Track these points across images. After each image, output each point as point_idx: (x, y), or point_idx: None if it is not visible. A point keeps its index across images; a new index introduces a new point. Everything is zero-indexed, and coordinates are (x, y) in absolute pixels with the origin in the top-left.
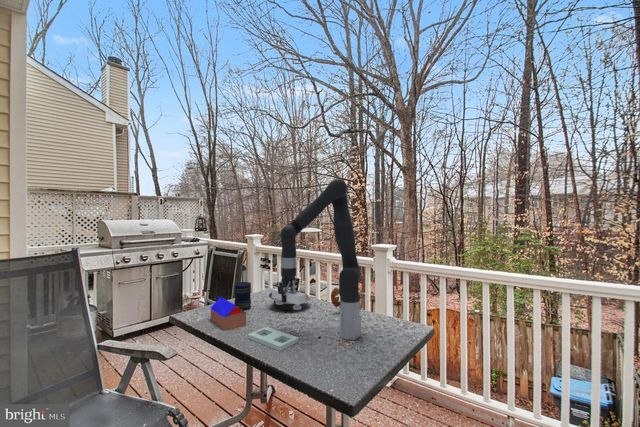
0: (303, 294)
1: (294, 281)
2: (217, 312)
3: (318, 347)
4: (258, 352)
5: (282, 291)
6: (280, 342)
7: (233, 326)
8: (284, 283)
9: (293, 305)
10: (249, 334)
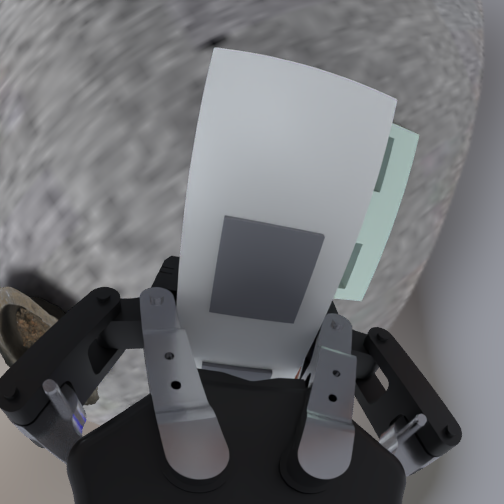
0: (265, 63)
1: (122, 429)
2: None
3: (315, 10)
4: (434, 197)
5: (394, 354)
6: (392, 149)
7: (299, 370)
8: (384, 447)
9: (50, 314)
10: (362, 295)
